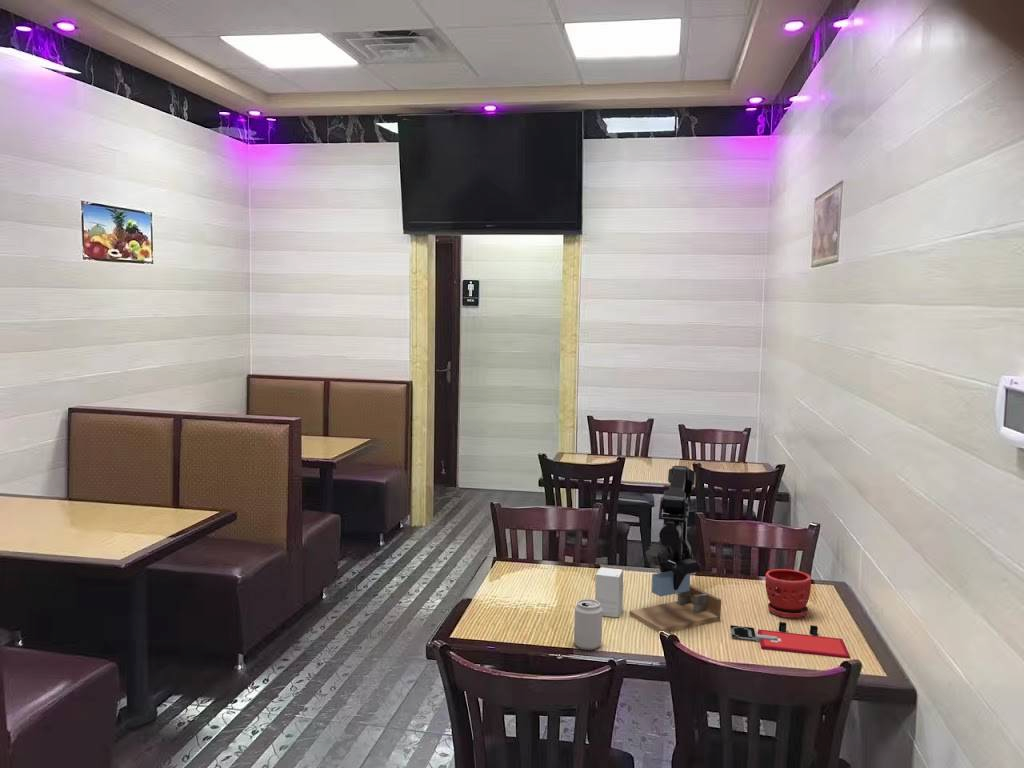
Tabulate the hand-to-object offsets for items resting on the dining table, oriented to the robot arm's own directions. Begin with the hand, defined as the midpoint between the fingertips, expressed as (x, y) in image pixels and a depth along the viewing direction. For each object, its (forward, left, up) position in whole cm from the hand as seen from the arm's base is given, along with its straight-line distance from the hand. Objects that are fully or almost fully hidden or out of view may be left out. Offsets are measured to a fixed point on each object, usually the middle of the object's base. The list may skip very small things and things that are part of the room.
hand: (671, 587), depth 231 cm
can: (+34, +6, -9) cm, 35 cm away
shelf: (0, +2, -9) cm, 9 cm away
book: (0, 0, -1) cm, 1 cm away
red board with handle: (-18, +28, -10) cm, 35 cm away
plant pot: (-34, +13, -9) cm, 38 cm away
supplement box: (+15, -11, -9) cm, 20 cm away
